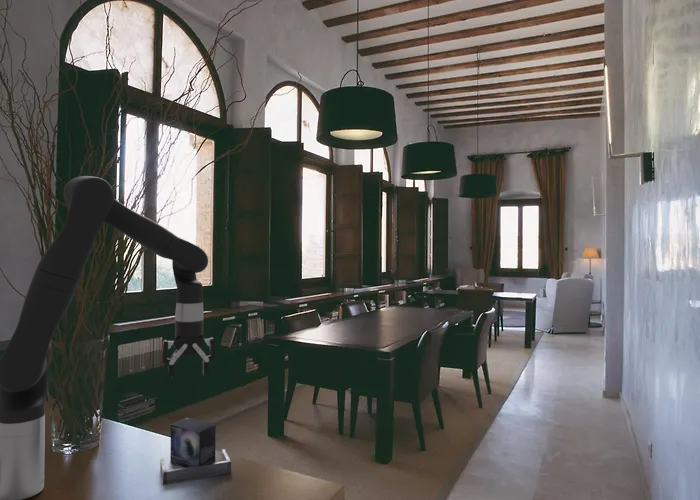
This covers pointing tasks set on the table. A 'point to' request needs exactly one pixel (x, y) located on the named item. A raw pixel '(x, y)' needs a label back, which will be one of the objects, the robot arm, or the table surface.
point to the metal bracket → (196, 471)
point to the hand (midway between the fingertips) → (188, 376)
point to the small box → (192, 442)
